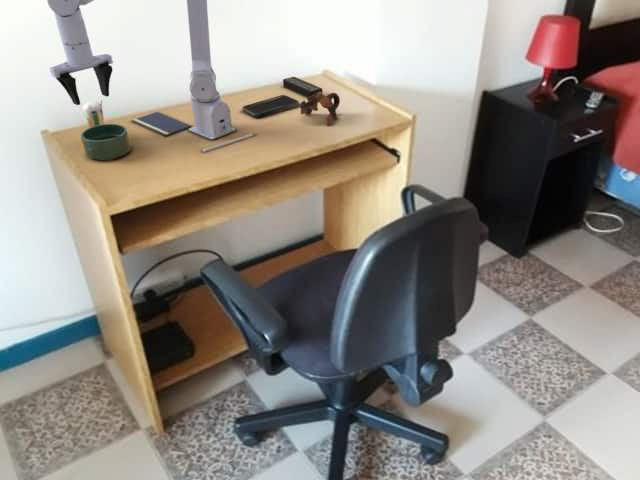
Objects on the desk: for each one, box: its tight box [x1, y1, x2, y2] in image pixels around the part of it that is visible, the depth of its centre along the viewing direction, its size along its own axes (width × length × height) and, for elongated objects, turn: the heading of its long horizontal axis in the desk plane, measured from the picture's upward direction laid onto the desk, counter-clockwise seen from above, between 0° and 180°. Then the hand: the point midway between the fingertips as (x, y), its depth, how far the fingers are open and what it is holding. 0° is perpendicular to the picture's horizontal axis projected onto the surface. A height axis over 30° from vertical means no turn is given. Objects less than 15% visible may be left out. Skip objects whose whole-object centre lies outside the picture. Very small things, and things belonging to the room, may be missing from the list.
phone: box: [242, 94, 300, 119], centre depth 164 cm, size 8×1×15 cm
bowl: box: [80, 123, 132, 161], centre depth 139 cm, size 10×10×5 cm
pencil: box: [202, 133, 255, 153], centre depth 146 cm, size 1×1×15 cm
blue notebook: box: [131, 111, 192, 137], centre depth 155 cm, size 15×8×1 cm, turn 51°
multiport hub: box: [282, 76, 323, 99], centre depth 175 cm, size 4×14×2 cm, turn 42°
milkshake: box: [82, 100, 106, 128], centre depth 144 cm, size 4×5×10 cm
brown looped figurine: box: [298, 91, 341, 126], centre depth 158 cm, size 12×10×8 cm
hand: (91, 99), depth 141 cm, fingers open, 7 cm apart
